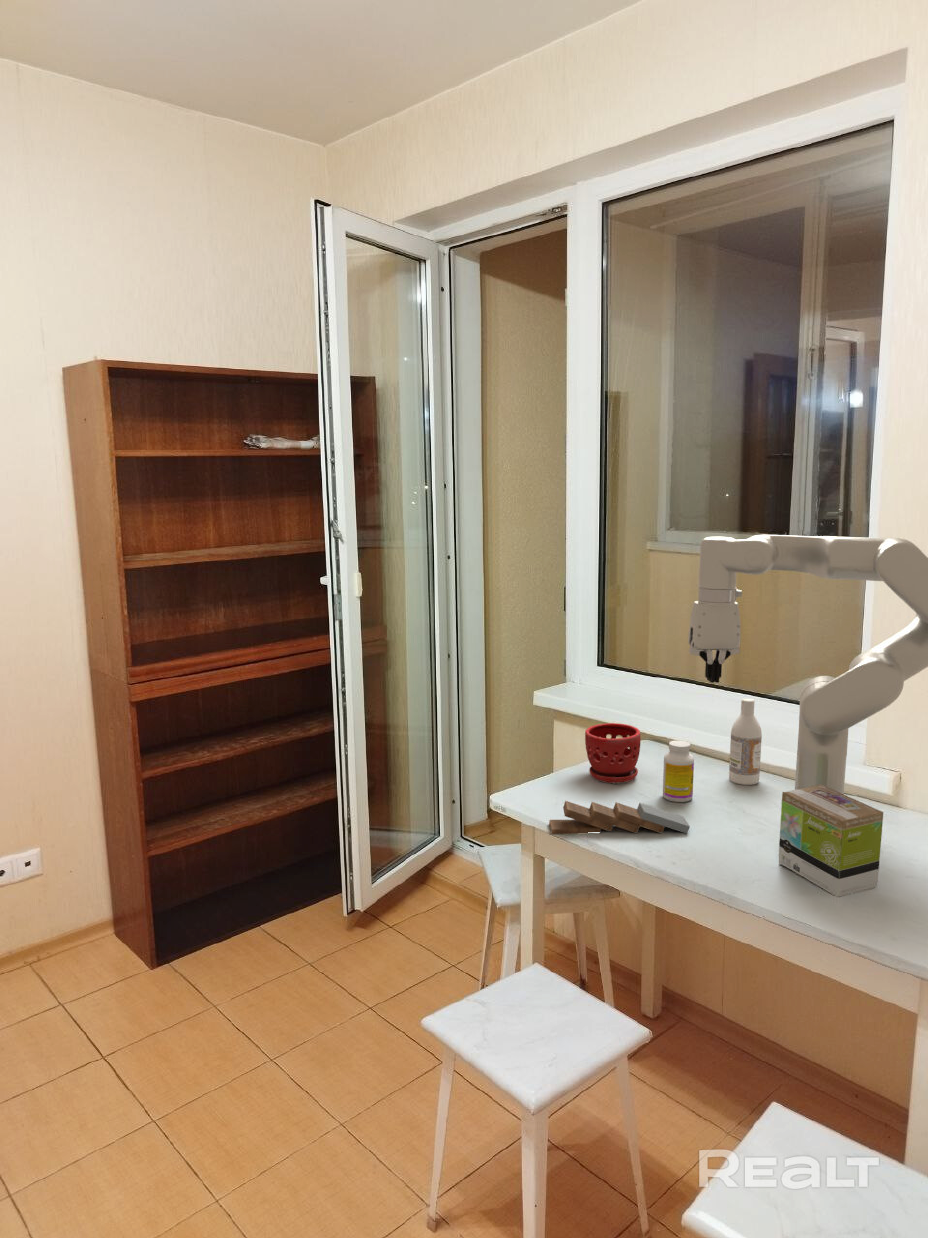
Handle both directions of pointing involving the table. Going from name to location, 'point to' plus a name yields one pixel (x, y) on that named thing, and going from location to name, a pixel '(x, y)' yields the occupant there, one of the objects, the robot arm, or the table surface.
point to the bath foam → (745, 746)
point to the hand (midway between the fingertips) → (712, 681)
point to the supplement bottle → (678, 772)
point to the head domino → (663, 818)
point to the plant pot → (613, 752)
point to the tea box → (830, 839)
